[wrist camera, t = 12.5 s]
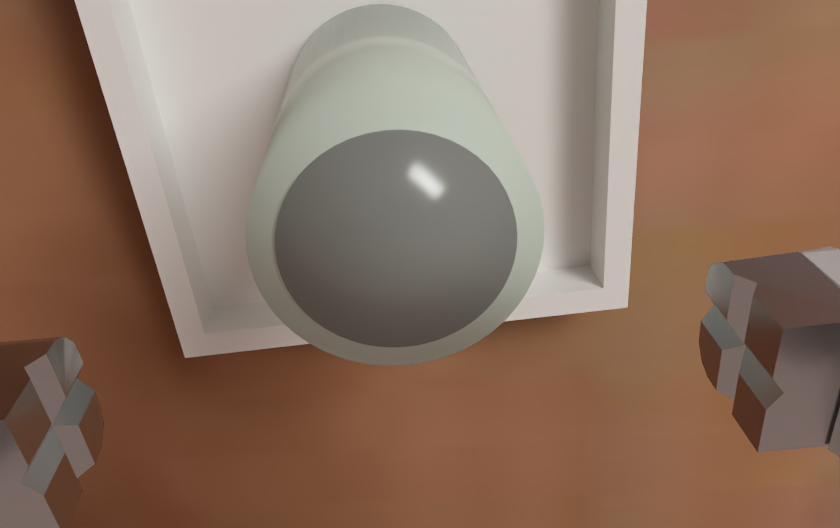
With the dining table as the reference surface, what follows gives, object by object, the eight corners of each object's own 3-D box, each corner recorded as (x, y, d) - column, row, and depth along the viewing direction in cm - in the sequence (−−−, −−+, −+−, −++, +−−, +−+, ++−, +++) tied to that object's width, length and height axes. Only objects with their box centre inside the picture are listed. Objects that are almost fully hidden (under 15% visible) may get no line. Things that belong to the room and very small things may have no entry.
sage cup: (273, 15, 19) (213, 120, 11) (466, -7, 19) (544, 83, 11) (306, 194, 22) (276, 384, 14) (476, 174, 22) (546, 351, 14)
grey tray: (65, -158, 18) (24, -162, 15) (624, -214, 18) (660, -225, 16) (200, 314, 24) (185, 357, 22) (604, 268, 25) (627, 307, 23)
